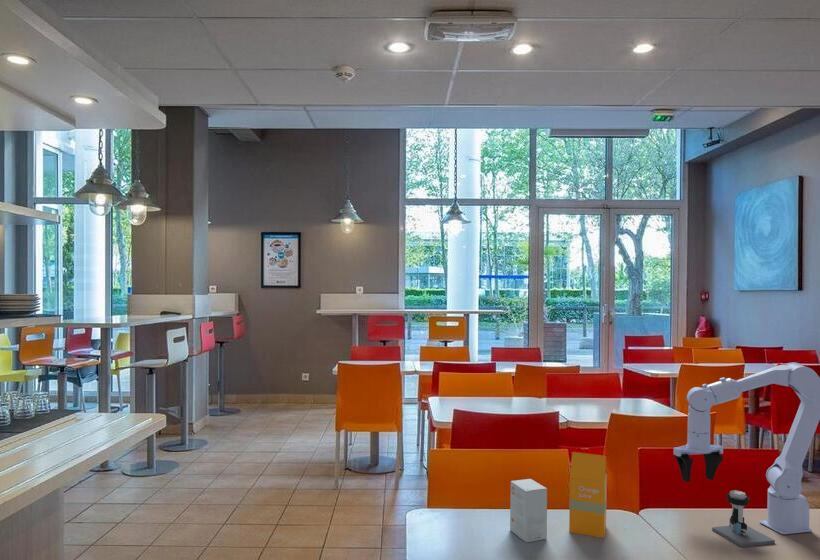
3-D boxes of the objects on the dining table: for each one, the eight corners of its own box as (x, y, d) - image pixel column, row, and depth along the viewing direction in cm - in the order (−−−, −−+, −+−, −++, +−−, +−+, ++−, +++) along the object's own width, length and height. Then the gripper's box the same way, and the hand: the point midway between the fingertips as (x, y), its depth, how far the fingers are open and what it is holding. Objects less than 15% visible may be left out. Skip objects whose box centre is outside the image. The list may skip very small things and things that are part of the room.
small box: (547, 539, 151) (547, 488, 151) (525, 543, 149) (526, 491, 149) (530, 526, 159) (530, 478, 159) (509, 530, 157) (509, 480, 157)
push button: (756, 537, 152) (756, 498, 152) (735, 537, 152) (735, 498, 152) (742, 526, 158) (742, 489, 158) (721, 526, 158) (722, 489, 158)
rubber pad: (744, 527, 160) (744, 524, 160) (774, 543, 150) (774, 540, 150) (712, 530, 158) (712, 527, 158) (741, 547, 148) (741, 543, 148)
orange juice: (604, 537, 153) (605, 459, 153) (568, 532, 156) (569, 455, 156) (606, 526, 160) (607, 451, 160) (572, 520, 163) (573, 447, 163)
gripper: (710, 426, 172) (710, 473, 172) (666, 428, 169) (665, 476, 169) (729, 432, 165) (728, 481, 165) (683, 435, 162) (682, 485, 162)
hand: (698, 480), depth 167 cm, fingers open, 7 cm apart
